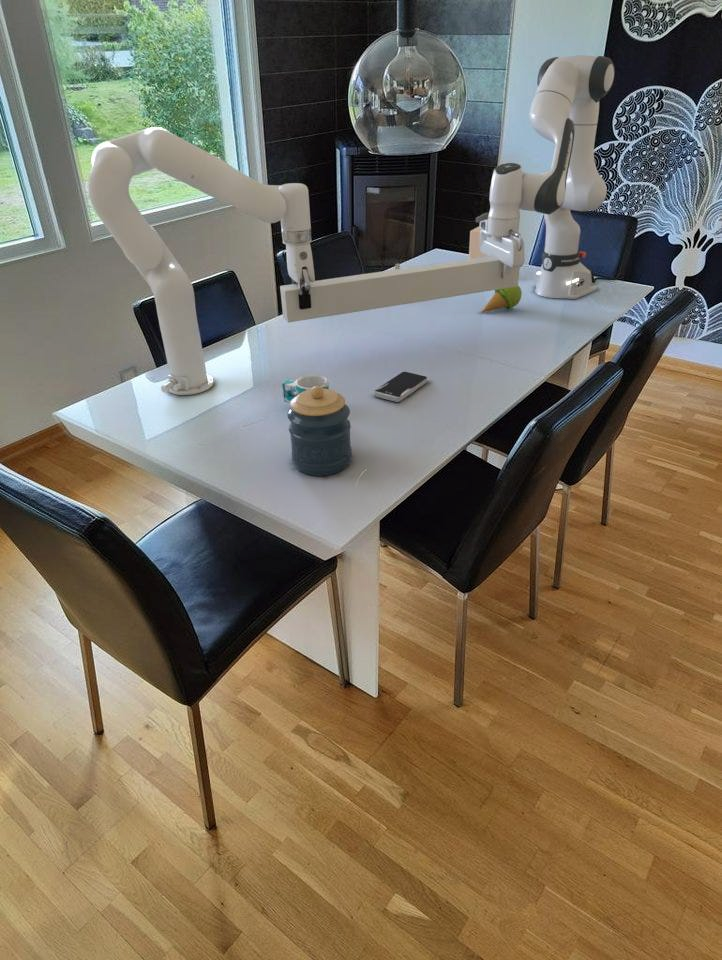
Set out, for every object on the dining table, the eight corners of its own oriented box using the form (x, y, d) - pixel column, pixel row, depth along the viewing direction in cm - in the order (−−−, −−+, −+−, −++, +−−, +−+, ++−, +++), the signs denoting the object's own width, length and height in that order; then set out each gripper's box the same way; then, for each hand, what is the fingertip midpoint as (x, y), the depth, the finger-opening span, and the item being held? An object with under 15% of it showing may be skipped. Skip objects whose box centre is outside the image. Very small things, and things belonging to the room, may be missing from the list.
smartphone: (428, 377, 177) (398, 398, 167) (428, 381, 178) (398, 403, 168) (403, 371, 181) (372, 391, 171) (403, 375, 182) (373, 396, 171)
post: (287, 322, 181) (284, 291, 176) (283, 316, 185) (279, 285, 180) (518, 286, 200) (520, 257, 195) (509, 281, 204) (511, 253, 199)
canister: (282, 471, 142) (273, 395, 133) (307, 442, 152) (301, 370, 143) (338, 481, 138) (333, 404, 129) (360, 451, 148) (358, 377, 139)
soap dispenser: (476, 269, 264) (480, 210, 252) (497, 271, 260) (501, 211, 248) (463, 277, 255) (466, 216, 243) (484, 280, 251) (488, 218, 239)
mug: (318, 422, 160) (315, 391, 156) (277, 412, 166) (274, 381, 161) (336, 409, 166) (334, 377, 162) (297, 399, 171) (294, 368, 167)
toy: (490, 328, 222) (529, 303, 221) (483, 307, 216) (523, 282, 215) (478, 316, 228) (516, 293, 227) (471, 297, 222) (510, 272, 221)
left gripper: (321, 241, 167) (325, 312, 176) (301, 227, 180) (306, 294, 190) (292, 245, 164) (298, 317, 174) (274, 231, 178) (280, 298, 188)
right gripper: (532, 233, 184) (527, 283, 191) (495, 218, 200) (492, 265, 208) (512, 236, 182) (507, 286, 190) (476, 221, 199) (474, 268, 206)
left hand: (302, 304), depth 182 cm, fingers closed on post, 5 cm apart
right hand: (499, 275), depth 199 cm, fingers closed on post, 5 cm apart
